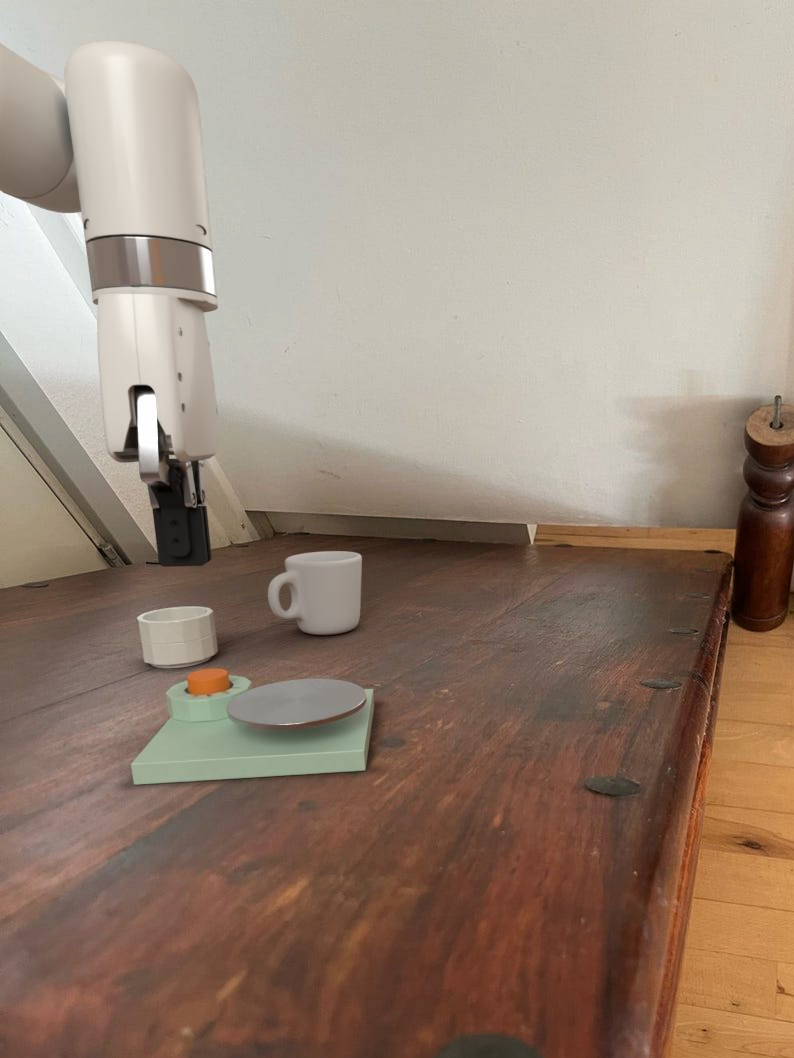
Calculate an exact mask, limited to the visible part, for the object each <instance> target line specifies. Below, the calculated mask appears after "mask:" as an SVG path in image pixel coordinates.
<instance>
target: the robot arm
mask: <svg viewBox="0 0 794 1058" xmlns="http://www.w3.org/2000/svg"><path fill="white" fill-rule="evenodd" d="M64 65H65V66H64V71H63V78H61V77H58V76H56V75H54V74H52V73H50V72H47V71H45V70H43V69H41V68H39V67H38V66H36V65H35V64H34V63H32V62H30V61H29V60H27V59H26V58H24V57H22V55H19V54H18V53H17V52H15V51H13V50H12V49H11V48H9V47H7V46H6V45H5V44H3V43H1V42H0V192H2V193H3V194H6V195H8V196H10V197H13V198H15V199H17V200H20V201H22V202H25V203H27V204H29V205H31V206H35V207H37V208H40V209H42V210H46V211H50V212H53V213H58V214H59V213H61V214H77V213H81V220H82V228H83V235H84V243H85V251H86V259H87V265H88V273H89V281H90V289H91V298H92V303H93V305H96V306H97V315H96V316H97V318H96V319H97V321H96V322H97V323H96V324H97V325H96V327H97V328H96V336H97V338H96V339H97V340H96V341H97V359H98V373H99V374H98V375H99V385H100V397H101V409H102V420H103V432H104V440H105V447H106V452H107V453H108V455H109V456H110V457H111V458H112V459H113V460H114V461H116V462H118V463H123V464H125V463H126V464H127V463H129V464H130V463H138V471H139V472H138V473H139V478H140V480H141V482H142V483H145V484H146V485H147V491H148V497H149V503H150V506H151V508H152V519H153V527H154V532H155V533H154V534H155V542H156V551H157V558H158V559H157V560H158V563H159V565H160V566H161V567H164V568H168V567H171V568H172V567H202V566H205V565H206V564H207V563H209V562H211V561H212V557H213V556H212V545H211V538H210V537H211V536H210V526H209V518H208V508H207V507H208V506H207V505H206V502H207V496H206V495H207V493H206V479H205V474H206V462H205V460H210V459H211V458H213V457H215V455H216V454H217V453H218V451H219V450H220V428H219V427H220V426H219V414H218V404H217V395H216V387H215V379H214V370H213V364H212V357H211V349H210V346H211V344H210V341H209V337H208V335H209V334H208V330H207V329H208V328H207V323H206V317H205V316H206V315H205V313H209V312H214V311H217V310H218V309H219V304H218V294H217V293H218V291H217V282H216V271H215V259H214V253H213V252H214V250H213V249H214V248H213V240H212V228H211V227H212V226H211V217H210V208H209V207H210V206H209V196H208V185H207V175H206V164H205V153H204V142H203V141H204V140H203V130H202V121H201V112H200V111H201V110H200V103H199V95H198V90H197V87H196V85H195V82H194V80H193V78H192V76H191V75H190V73H189V72H188V70H187V69H186V68H185V67H184V66H183V65H182V64H181V63H179V61H178V60H176V59H175V58H173V57H172V56H170V55H169V54H167V53H165V52H163V51H161V50H158V49H156V48H153V47H150V46H146V45H144V44H140V43H136V42H129V41H124V40H123V41H120V40H98V41H97V40H96V41H90V42H87V43H84V44H82V45H80V46H78V47H77V48H75V49H74V50H73V51H71V53H70V54H69V56H68V57H67V60H66V62H65V64H64ZM170 456H175V458H170Z"/></svg>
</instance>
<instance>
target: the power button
mask: <svg viewBox="0 0 794 1058" xmlns="http://www.w3.org/2000/svg"><path fill="white" fill-rule="evenodd" d="M228 675H229V671H228V670H227V669H224V668H204V669H200V670H196V671H192V672H191V673H189V674H187V676H186V680H187V682H188V690H189V694H192V695H209V694H214V693H219V692H224V691H226V690H228V689H230V684H229V676H228Z"/></svg>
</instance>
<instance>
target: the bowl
mask: <svg viewBox="0 0 794 1058" xmlns="http://www.w3.org/2000/svg"><path fill="white" fill-rule="evenodd" d="M136 624H137V632H138V638H139V645H140V653H141V659H142V660H143V662H144V663H146V664H150V666H152V667H154V668H159V669H180V668H187V667H193V666H197V665H200V664H204V663H206V662H207V661H209V660H210V659H212V656H215V655H216V654H217V653H218V652H219V648H218V639H217V633H216V632H217V631H216V622H215V615H214V610H213V609H212V608H211V607H207V606H206V607H205V606H194V605H193V606H190V605H189V606H188V605H187V606H175V607H174V606H173V607H166V608H160V609H154V610H150V611H147V612H143V613H141V614H140V615H138V616H137V617H136Z"/></svg>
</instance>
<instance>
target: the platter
mask: <svg viewBox="0 0 794 1058" xmlns="http://www.w3.org/2000/svg"><path fill="white" fill-rule="evenodd" d="M364 689H365V688H363V687H361V686H360V685H358V684H356V683H354V682H350V681H347V680H346V681H345V680H341V679H333V678H300V679H290V680H282V681H276V682H272V683H268V684H264V685H261V686H260V685H259V686H256V687H254V688H252V689H251V690H248V691H246V692H244V693H242V694H240V695H238V696H236V697H235V698H233V699H232V700H231V701H230V702H229V703H228V705H227V715H228V718H229V719H230V720H231V721H232V722H234V723H236V724H238V725H241V726H244V727H248V728H254V729H262V730H292V729H302V728H309V727H315V726H320V725H324V724H328V723H332V722H335V721H338V720H341V719H344V718H346V717H349V716H351V715H353V714H355V713H356V712H358V711H359V710H360V709H361V708H363V706H364V705H365V703H366V692H365V690H364Z"/></svg>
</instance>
